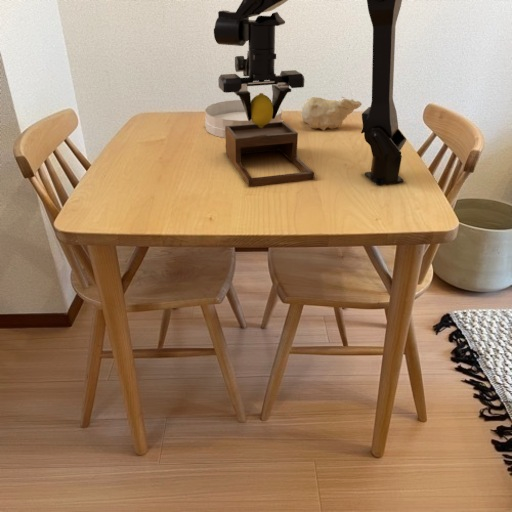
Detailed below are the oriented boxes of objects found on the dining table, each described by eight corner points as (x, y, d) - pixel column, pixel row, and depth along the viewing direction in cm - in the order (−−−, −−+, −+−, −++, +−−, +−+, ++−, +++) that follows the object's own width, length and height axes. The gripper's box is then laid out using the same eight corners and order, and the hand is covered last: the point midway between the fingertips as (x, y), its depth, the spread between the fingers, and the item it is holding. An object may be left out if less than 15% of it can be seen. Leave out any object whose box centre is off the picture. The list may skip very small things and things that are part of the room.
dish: (213, 142, 126) (212, 123, 124) (199, 119, 144) (198, 102, 142) (292, 135, 131) (293, 117, 129) (269, 114, 150) (269, 97, 147)
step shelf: (313, 179, 106) (316, 148, 102) (248, 186, 102) (248, 155, 98) (282, 148, 123) (283, 121, 119) (225, 153, 119) (225, 125, 116)
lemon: (273, 124, 115) (274, 90, 111) (271, 131, 110) (272, 96, 106) (250, 124, 116) (250, 90, 111) (248, 131, 111) (247, 95, 107)
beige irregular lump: (289, 134, 138) (319, 111, 125) (288, 111, 140) (318, 85, 127) (332, 144, 145) (365, 123, 132) (331, 122, 147) (363, 99, 134)
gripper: (289, 40, 113) (287, 107, 121) (211, 44, 108) (214, 113, 116) (307, 47, 103) (303, 119, 112) (222, 51, 99) (225, 126, 107)
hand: (261, 119), depth 112 cm, fingers closed on lemon, 5 cm apart
